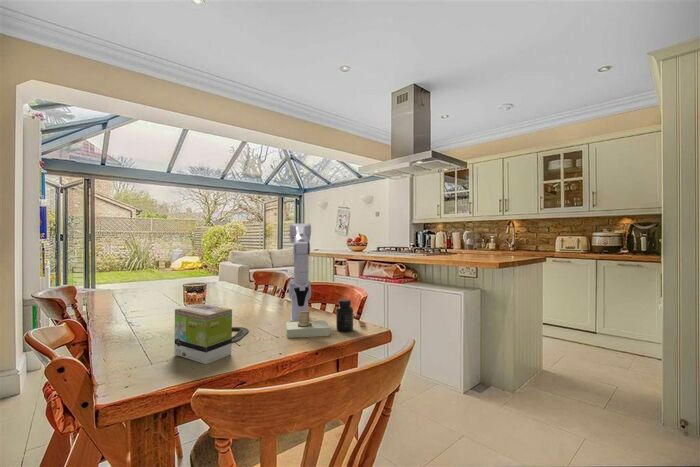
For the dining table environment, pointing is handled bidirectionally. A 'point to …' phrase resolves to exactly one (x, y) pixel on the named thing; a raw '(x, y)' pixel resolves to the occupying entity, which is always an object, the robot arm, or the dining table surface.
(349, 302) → the supplement bottle
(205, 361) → the tea box
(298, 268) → the robot arm
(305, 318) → the peg
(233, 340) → the c clamp
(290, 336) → the board
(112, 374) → the dining table surface
